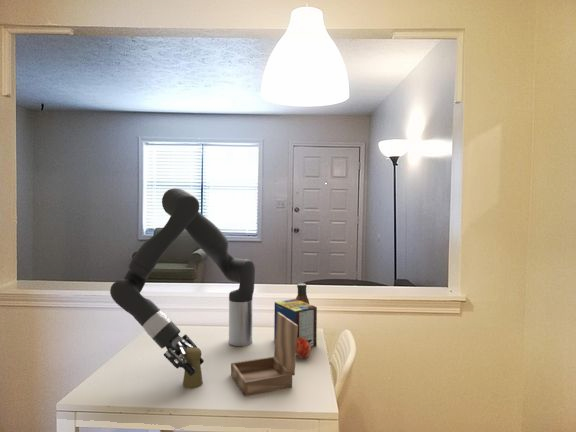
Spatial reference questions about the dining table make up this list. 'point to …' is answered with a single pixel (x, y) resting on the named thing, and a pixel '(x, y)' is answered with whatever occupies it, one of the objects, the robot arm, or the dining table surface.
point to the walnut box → (260, 375)
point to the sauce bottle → (302, 293)
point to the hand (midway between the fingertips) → (197, 368)
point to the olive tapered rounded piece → (194, 359)
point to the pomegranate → (303, 347)
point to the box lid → (286, 342)
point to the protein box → (299, 318)
